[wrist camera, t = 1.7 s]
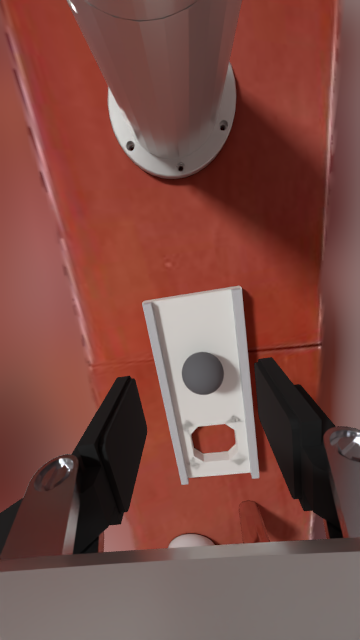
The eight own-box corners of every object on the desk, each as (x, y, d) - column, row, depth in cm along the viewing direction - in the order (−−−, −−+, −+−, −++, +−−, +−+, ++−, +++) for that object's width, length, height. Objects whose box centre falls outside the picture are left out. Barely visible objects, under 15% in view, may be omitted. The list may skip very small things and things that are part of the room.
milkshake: (263, 493, 37) (288, 577, 28) (260, 517, 39) (284, 603, 29) (235, 493, 37) (251, 576, 28) (234, 516, 39) (248, 602, 29)
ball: (179, 348, 29) (177, 367, 24) (218, 342, 29) (224, 360, 24) (185, 382, 30) (184, 406, 26) (223, 377, 30) (229, 401, 25)
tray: (144, 300, 29) (140, 305, 27) (239, 285, 28) (243, 288, 26) (180, 469, 37) (180, 484, 34) (256, 462, 35) (261, 477, 33)
